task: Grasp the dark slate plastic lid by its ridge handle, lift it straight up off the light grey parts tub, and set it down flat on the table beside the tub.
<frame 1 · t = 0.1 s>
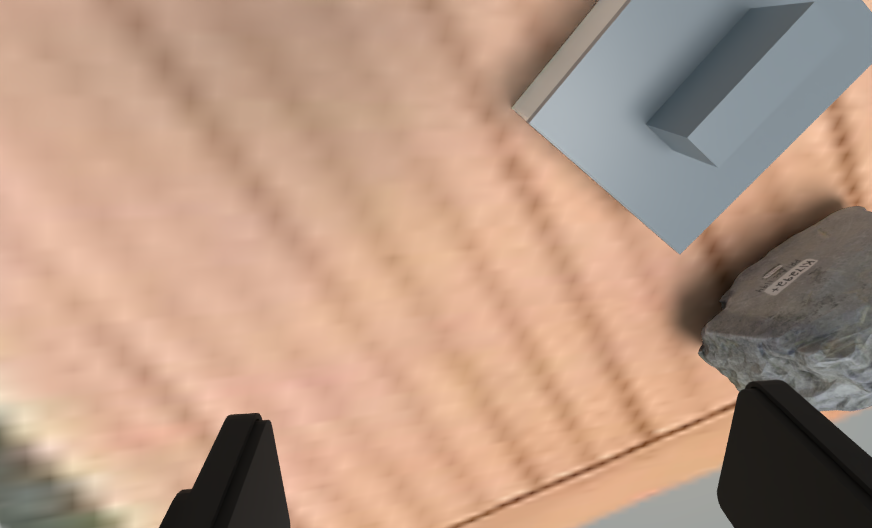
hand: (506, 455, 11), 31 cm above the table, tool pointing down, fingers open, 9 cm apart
lid: (694, 80, 33), point 6 cm above the table, touching tub
tub: (652, 75, 38), on the table
decorative rock: (757, 272, 45), on the table
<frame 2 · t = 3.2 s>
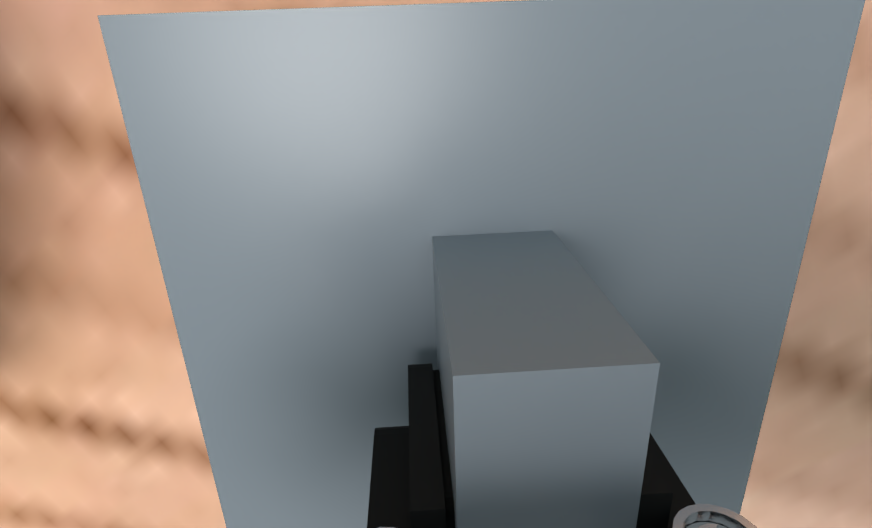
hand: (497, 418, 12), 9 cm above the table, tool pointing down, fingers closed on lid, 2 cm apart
lid: (481, 353, 14), point 6 cm above the table, touching gripper, tub
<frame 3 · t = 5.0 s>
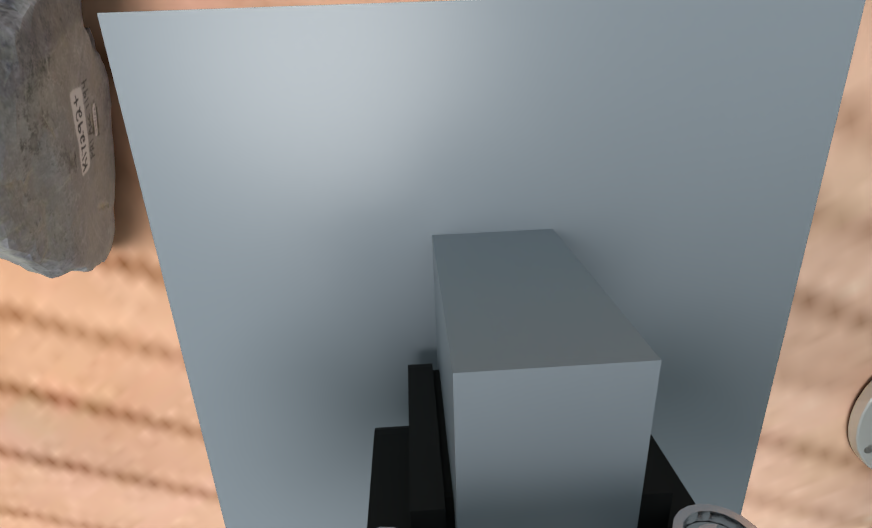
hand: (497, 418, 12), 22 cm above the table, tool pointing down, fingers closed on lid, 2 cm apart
lid: (481, 353, 14), point 20 cm above the table, touching gripper
decorative rock: (85, 105, 29), on the table
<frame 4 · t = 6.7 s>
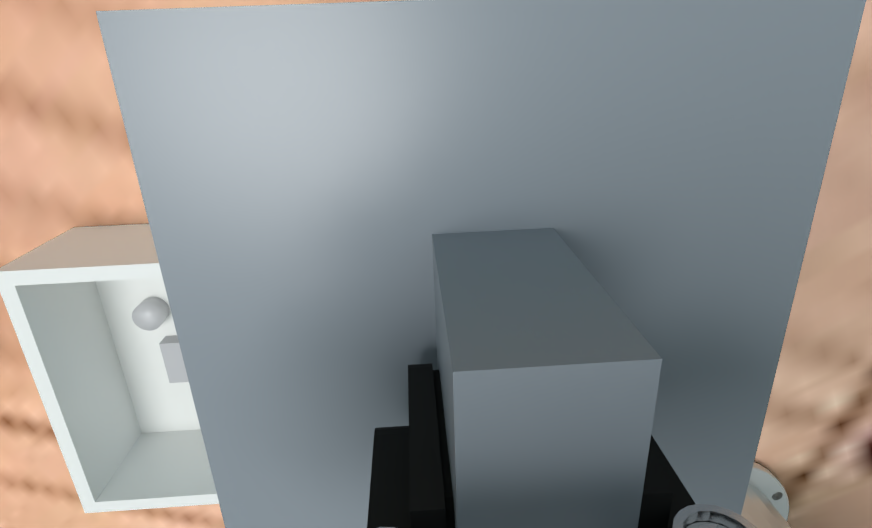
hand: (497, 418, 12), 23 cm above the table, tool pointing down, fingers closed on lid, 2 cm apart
lid: (481, 352, 14), point 20 cm above the table, touching gripper
tub: (206, 334, 36), on the table
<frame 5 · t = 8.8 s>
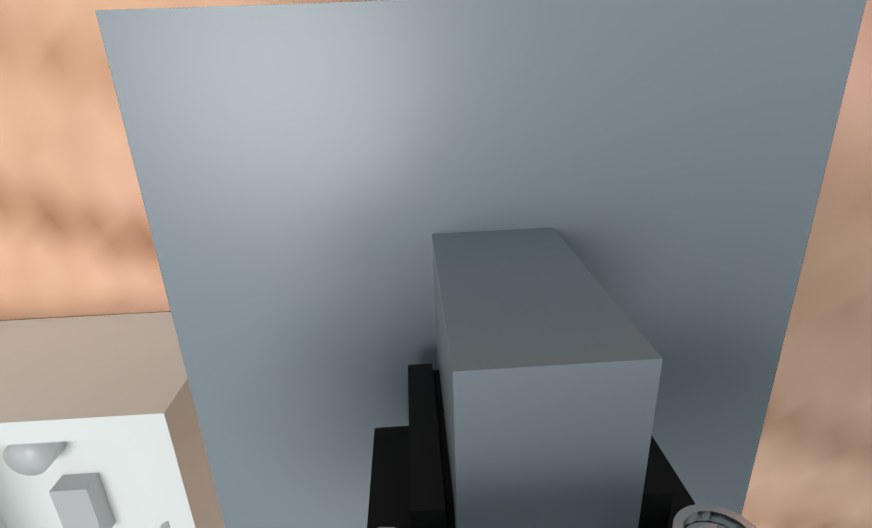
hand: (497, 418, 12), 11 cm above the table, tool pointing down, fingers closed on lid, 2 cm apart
lid: (481, 352, 14), point 8 cm above the table, touching gripper
tub: (125, 467, 25), on the table
when the fingers open (4 cm above the table, at t = 10.4 s): lid drops 2 cm, on the table.
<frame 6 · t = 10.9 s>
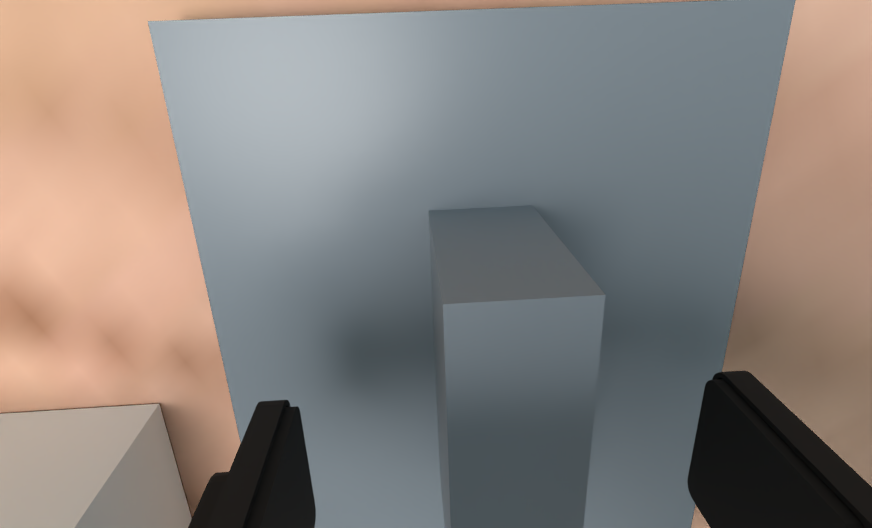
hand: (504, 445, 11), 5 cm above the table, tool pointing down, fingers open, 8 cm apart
lid: (473, 319, 16), on the table
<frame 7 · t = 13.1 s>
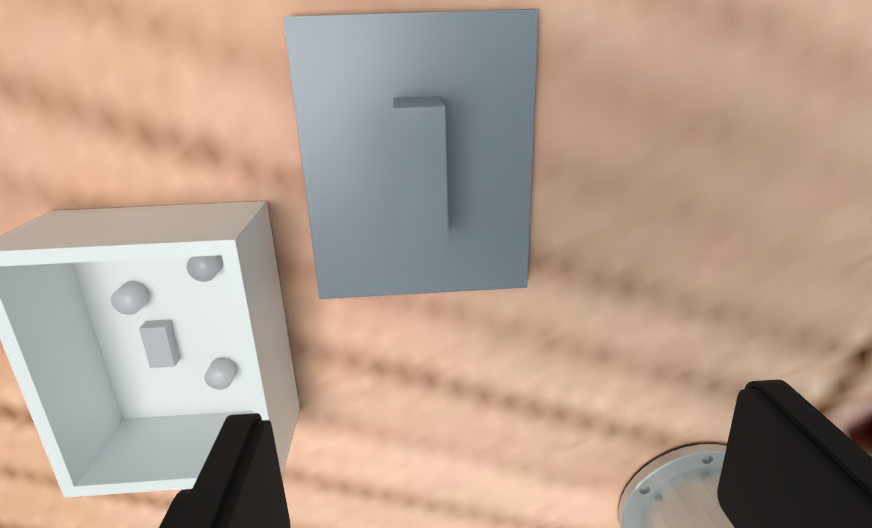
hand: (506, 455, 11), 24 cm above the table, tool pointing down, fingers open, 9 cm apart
lid: (417, 161, 33), on the table
tub: (187, 319, 36), on the table
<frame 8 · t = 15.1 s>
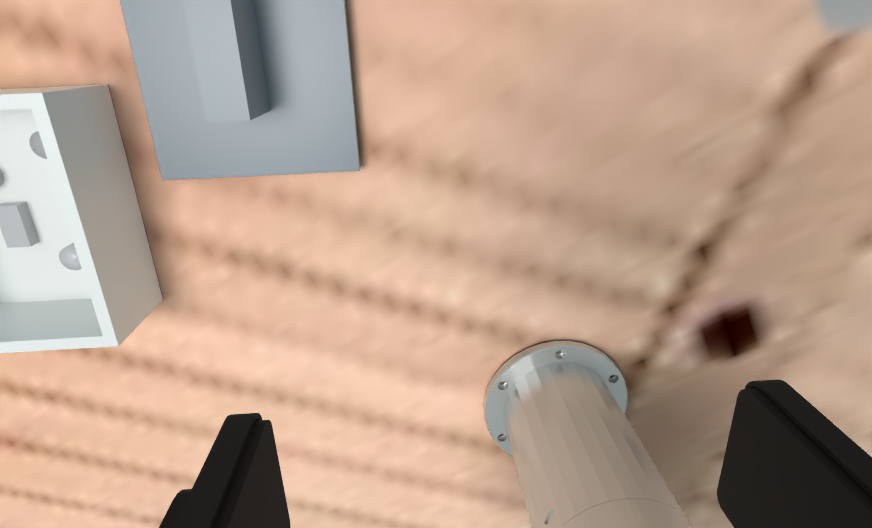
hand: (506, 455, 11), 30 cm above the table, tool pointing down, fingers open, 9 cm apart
lid: (248, 46, 35), on the table
tub: (45, 204, 38), on the table
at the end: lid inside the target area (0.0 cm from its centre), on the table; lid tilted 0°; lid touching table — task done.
